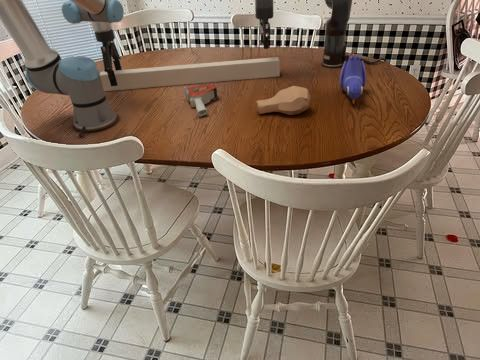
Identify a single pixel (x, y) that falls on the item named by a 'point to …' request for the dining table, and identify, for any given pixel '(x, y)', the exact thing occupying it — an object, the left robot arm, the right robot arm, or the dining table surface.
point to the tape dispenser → (201, 97)
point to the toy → (353, 77)
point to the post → (192, 73)
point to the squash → (286, 101)
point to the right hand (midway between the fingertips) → (264, 45)
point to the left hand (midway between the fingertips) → (117, 79)
